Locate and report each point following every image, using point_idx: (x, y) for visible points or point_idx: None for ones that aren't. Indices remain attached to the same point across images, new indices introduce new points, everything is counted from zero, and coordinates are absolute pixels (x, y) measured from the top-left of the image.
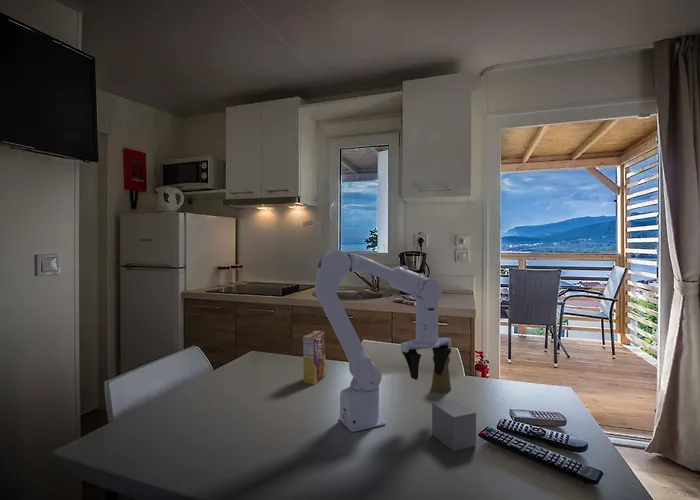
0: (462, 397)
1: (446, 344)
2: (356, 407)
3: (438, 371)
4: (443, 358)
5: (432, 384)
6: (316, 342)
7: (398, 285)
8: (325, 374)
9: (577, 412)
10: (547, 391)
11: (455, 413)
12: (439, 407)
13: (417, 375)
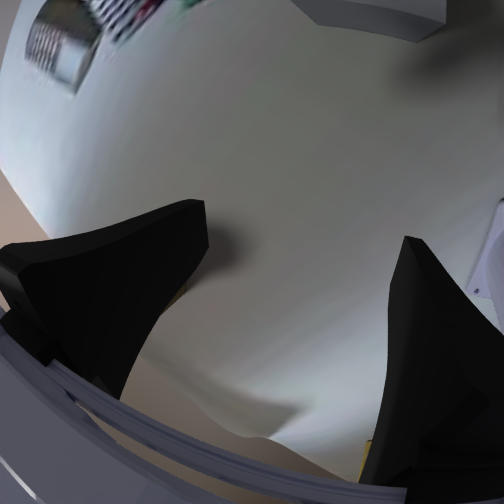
0: (136, 204)
1: (5, 334)
2: None
3: (193, 226)
4: (99, 243)
5: (177, 296)
6: None
7: None
8: (366, 443)
9: (10, 51)
10: (6, 146)
11: None
12: None
13: (418, 247)
